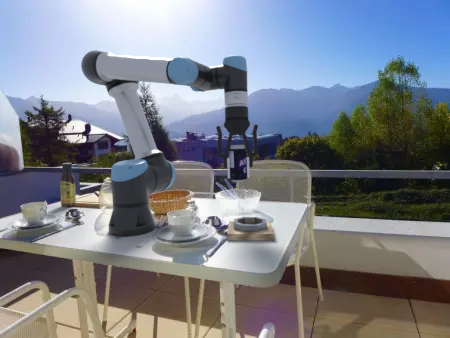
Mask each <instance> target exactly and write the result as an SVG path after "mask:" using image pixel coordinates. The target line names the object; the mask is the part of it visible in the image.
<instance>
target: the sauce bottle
mask: <svg viewBox="0 0 450 338" xmlns="http://www.w3.org/2000/svg"><path fill="white" fill-rule="evenodd" d="M61 167H62V174H61V178H60V182H59V186H60V187H59V192H60V193H59V194H60V206H61V207H64V208H65V207H67V208H68V207H73V206H76V203H77V201H76V195H77V194H76V183H75V182H76V179H75V175H74V174H73V169H72V167H73V162H63V163H62V164H61Z"/></svg>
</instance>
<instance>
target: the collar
mask: <svg viewBox="0 0 450 338" xmlns="http://www.w3.org/2000/svg"><path fill="white" fill-rule="evenodd" d="M233 221H234V229H235V230H238V231H242V232H259V231H262V230H265V229H267V222H266V221H267V219H266V218H262V217H258V216H243V217H242V216H241V217H238V218H235V219H233Z"/></svg>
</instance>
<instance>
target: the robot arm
mask: <svg viewBox="0 0 450 338" xmlns="http://www.w3.org/2000/svg"><path fill="white" fill-rule="evenodd" d="M80 67H81V72H82V74H83V75H84V76H85V78H86V79H87V80H88V81H89V82H91V83H93V84H96V85H100V86H105V88H106V91H107V95H108V96H109V97H111V98H113V99H114V102H115V103H116V106H117V109H118V112H119V114H120V117H121V121H122V123H123V126H124V129H125V132H126V134H127V135H126V136H127V138H128V140H129V143H130V145H131V148H132V151H133V154H134V159H127V160H121V161H117V162H115V163H114V164H112V166H111V174H110V179H111V182H110V183H111V192H112V193H111V195H112V211H111V215H110V219H109V222H108V233H109V234H111V235H114V236H121V237H123V236H136V235H137V236H138V235H143V234H146V233H149V232H151V231H153V230H155V228H156V227H155V226H156V223H155V222H156V221H155V218H154V215H153V213H152V211H151V208H150V205H149V203H150V200H149V195H151V194H155V193H160V192H164V191H165V190H167V189H169V188H170V187H171V186H173V184H174V182H175V180H176V174H177V172H176V169H175V166H174V165H173V163H172V162H171V161H169V160H167V159H166V157H165V155H164V152H163V151H161V150H159V149H158V148H157V145H156V142H155V139H154V137H153V133H152V131H151V128H150V126H149V122H148V120H147V117H146V114H145V112H144V108H143V106H142V103H141V100H140V98H139V94H138V91H139V88H140V85H139V84H140V82H145V83H157V84H167V85H176V86H187V87H190V89H191V90H192V91H193V92H196V93H198V92H203V93H205V92H206V91H207V92H209V91H216V90H223V91H224V92H223V94H224V106H225V108H224V123H223V124H221V125H217V126H216V132H217V156H218V157H220V158H223V168H224V169H227V179H230V158H229V148H230V145H232V140H233V137H234V136H237V135H238V136H242V139H243V142H244V145H245V147H246V153H247V155H248V157H247V179H250V175H251V174H250V172H251V171H250V168H253V166H254V160H253V157H255V156H258V155H259V150H258V148H259V147H258V146H259V145H258V136H257V134H258V133H257V132H258V127H259V126H258V124H253V123H251V122H250V120H249V107H248V106H247V105H249V100H248V99H249V94H248V66H247V59H246V58H245V57H244V56H242V55H228V56H225V57H224V58H223V60H222V64H220V65H213V66H207V65H205V64H202V63H200V62H198V61H195V60H193V59H191V58H189V57H184V56H176V57H174V58H169V57H168V58H167V57H150V56H135V55H134V56H132V55H116V54H113V53H112V52H110V51H104V50H99V49H98V50H97V49H95V50H91V51H88V52H86V54H84V56H83V57H82V59H81V65H80ZM249 127H250V130H251V132H252V143H253V145H252V146H253V152H252V149H251V147H250V144H249V141H248V137H247V134H246V132H247V131H248V129H249ZM224 130H226V131H227V132H228V138H227V140H226V145H225V149H224V152H223V132H224Z"/></svg>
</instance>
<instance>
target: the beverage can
mask: <svg viewBox="0 0 450 338" xmlns="http://www.w3.org/2000/svg"><path fill="white" fill-rule="evenodd" d="M247 155H248V152H247V149H246V146H245V144H230V148H229V152H228V158H230V178H229V179H230V181H231V182H232V183H245V182H246V180H248V178H247Z"/></svg>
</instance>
